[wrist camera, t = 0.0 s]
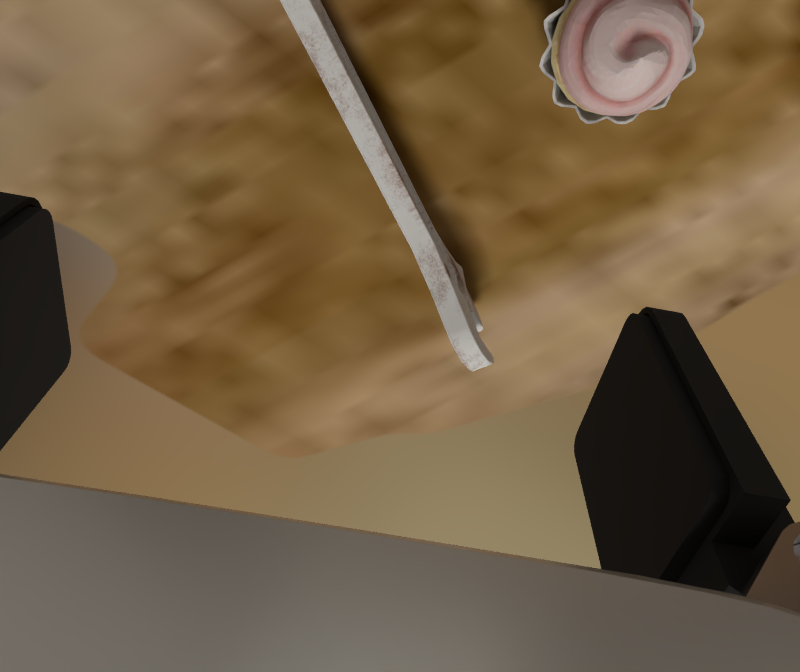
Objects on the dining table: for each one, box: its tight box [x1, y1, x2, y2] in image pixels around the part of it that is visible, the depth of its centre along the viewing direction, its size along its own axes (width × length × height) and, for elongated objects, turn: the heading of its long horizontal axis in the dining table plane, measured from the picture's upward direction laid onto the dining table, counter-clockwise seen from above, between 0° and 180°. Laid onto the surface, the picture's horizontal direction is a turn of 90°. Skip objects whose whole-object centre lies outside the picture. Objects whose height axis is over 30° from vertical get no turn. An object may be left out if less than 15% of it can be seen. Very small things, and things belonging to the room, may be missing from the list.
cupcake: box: [539, 0, 704, 124], centre depth 38 cm, size 9×9×10 cm
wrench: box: [280, 0, 494, 371], centre depth 45 cm, size 8×2×30 cm
